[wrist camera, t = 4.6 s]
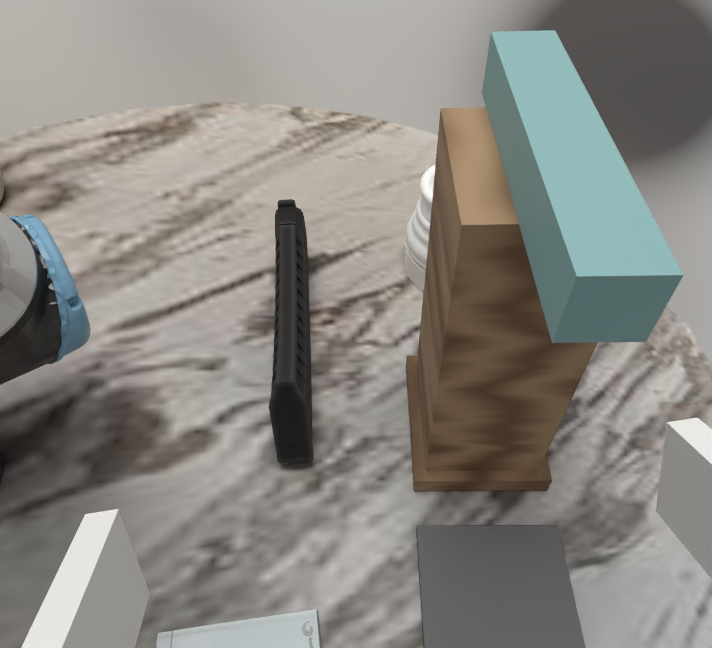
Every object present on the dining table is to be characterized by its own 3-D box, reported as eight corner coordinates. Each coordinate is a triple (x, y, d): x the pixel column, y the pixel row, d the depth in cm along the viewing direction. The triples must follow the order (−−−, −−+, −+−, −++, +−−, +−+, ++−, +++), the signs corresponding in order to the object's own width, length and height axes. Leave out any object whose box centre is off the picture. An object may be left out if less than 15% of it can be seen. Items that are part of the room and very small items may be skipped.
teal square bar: (552, 342, 25) (576, 276, 22) (482, 92, 39) (491, 31, 36) (645, 341, 25) (683, 275, 22) (541, 91, 39) (555, 30, 36)
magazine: (306, 443, 46) (294, 147, 58) (265, 446, 45) (262, 149, 58) (319, 478, 61) (307, 239, 73) (289, 480, 61) (282, 241, 73)
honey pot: (415, 224, 77) (424, 96, 63) (513, 239, 74) (544, 109, 61) (393, 290, 69) (398, 160, 55) (501, 310, 66) (534, 179, 53)
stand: (413, 491, 52) (444, 237, 29) (406, 367, 61) (424, 101, 39) (546, 490, 52) (680, 234, 29) (518, 366, 61) (604, 97, 38)
